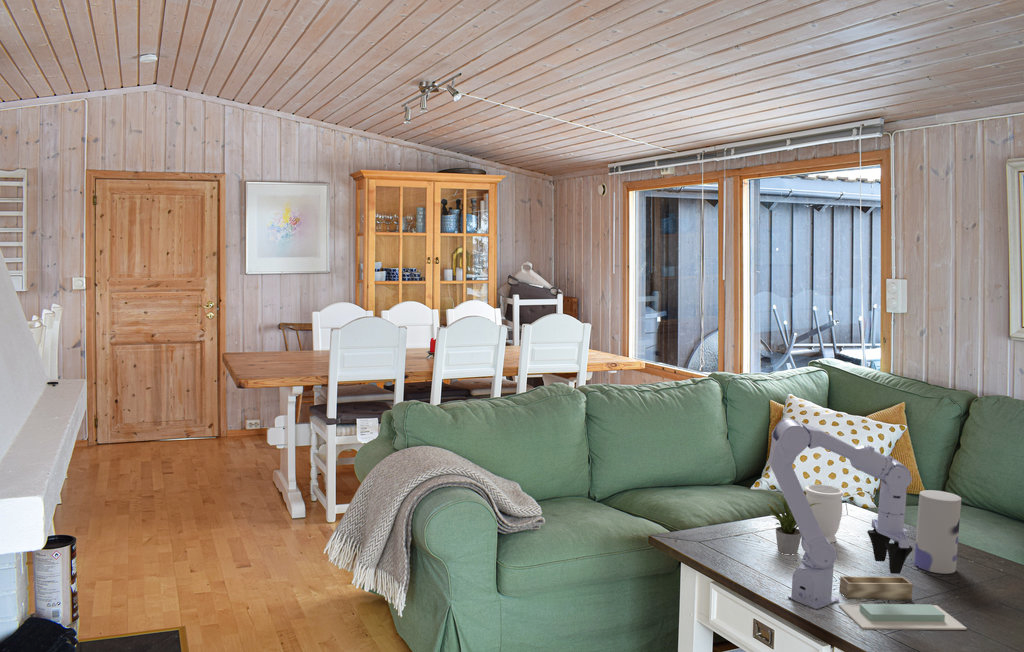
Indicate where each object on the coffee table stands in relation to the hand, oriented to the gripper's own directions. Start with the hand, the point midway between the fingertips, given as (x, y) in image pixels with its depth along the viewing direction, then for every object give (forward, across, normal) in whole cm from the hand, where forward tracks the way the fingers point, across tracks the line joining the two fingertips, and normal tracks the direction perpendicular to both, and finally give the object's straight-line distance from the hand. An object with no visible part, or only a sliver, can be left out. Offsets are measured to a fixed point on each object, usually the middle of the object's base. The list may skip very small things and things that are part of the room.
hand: (887, 566), depth 197 cm
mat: (+9, -7, 0) cm, 12 cm away
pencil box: (+9, +5, 0) cm, 11 cm away
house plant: (+10, +34, +10) cm, 37 cm away
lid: (+9, -7, 0) cm, 11 cm away
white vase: (+10, +46, -3) cm, 47 cm away
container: (+9, +25, -26) cm, 37 cm away
